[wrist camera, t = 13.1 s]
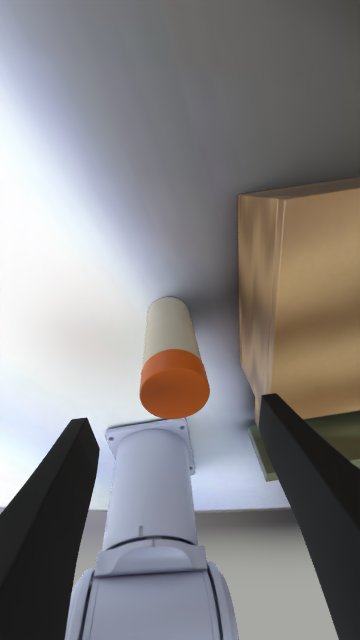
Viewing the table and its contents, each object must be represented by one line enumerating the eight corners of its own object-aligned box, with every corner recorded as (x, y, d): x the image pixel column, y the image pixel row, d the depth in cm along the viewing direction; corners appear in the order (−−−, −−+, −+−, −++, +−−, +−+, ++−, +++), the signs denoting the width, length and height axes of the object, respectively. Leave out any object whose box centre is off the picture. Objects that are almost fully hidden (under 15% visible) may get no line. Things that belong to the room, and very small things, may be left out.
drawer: (354, 442, 27) (388, 487, 23) (247, 459, 27) (263, 507, 23) (402, 309, 19) (468, 342, 15) (249, 332, 19) (275, 372, 15)
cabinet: (387, 340, 21) (466, 392, 16) (239, 363, 21) (267, 424, 16) (450, 162, 15) (618, 149, 9) (237, 194, 15) (284, 198, 9)
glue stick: (198, 311, 18) (224, 388, 11) (172, 341, 19) (181, 428, 12) (163, 287, 17) (167, 356, 10) (137, 320, 18) (125, 403, 11)
